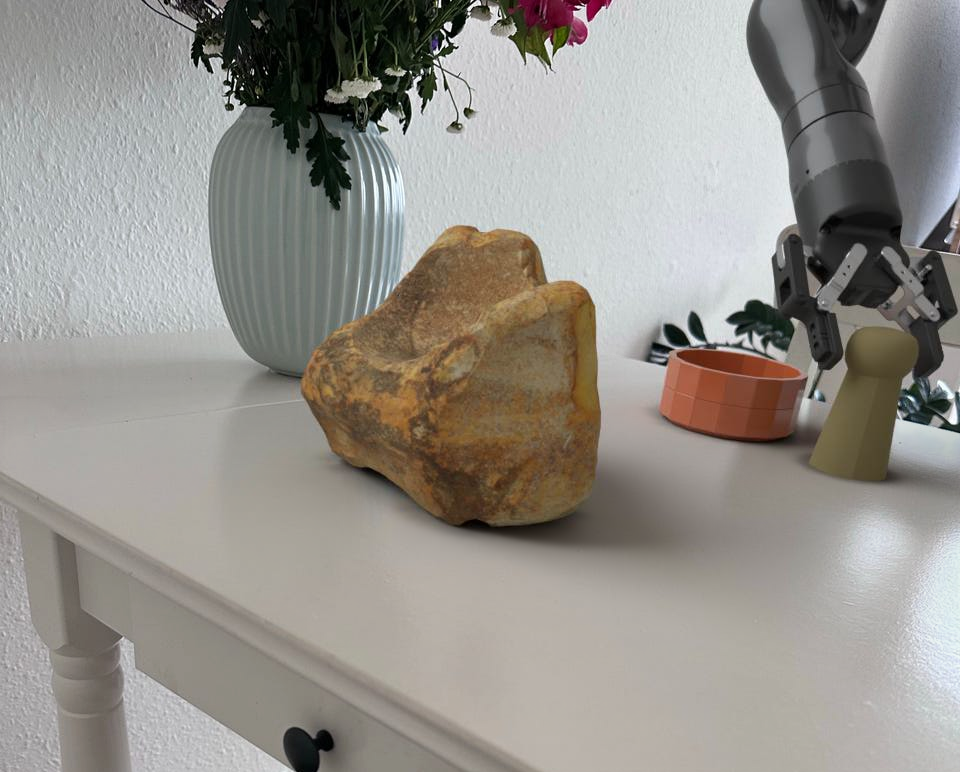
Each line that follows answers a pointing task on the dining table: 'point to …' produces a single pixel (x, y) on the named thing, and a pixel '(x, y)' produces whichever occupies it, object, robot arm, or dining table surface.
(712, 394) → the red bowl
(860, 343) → the cork
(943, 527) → the dining table surface
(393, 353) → the rough brown rock
